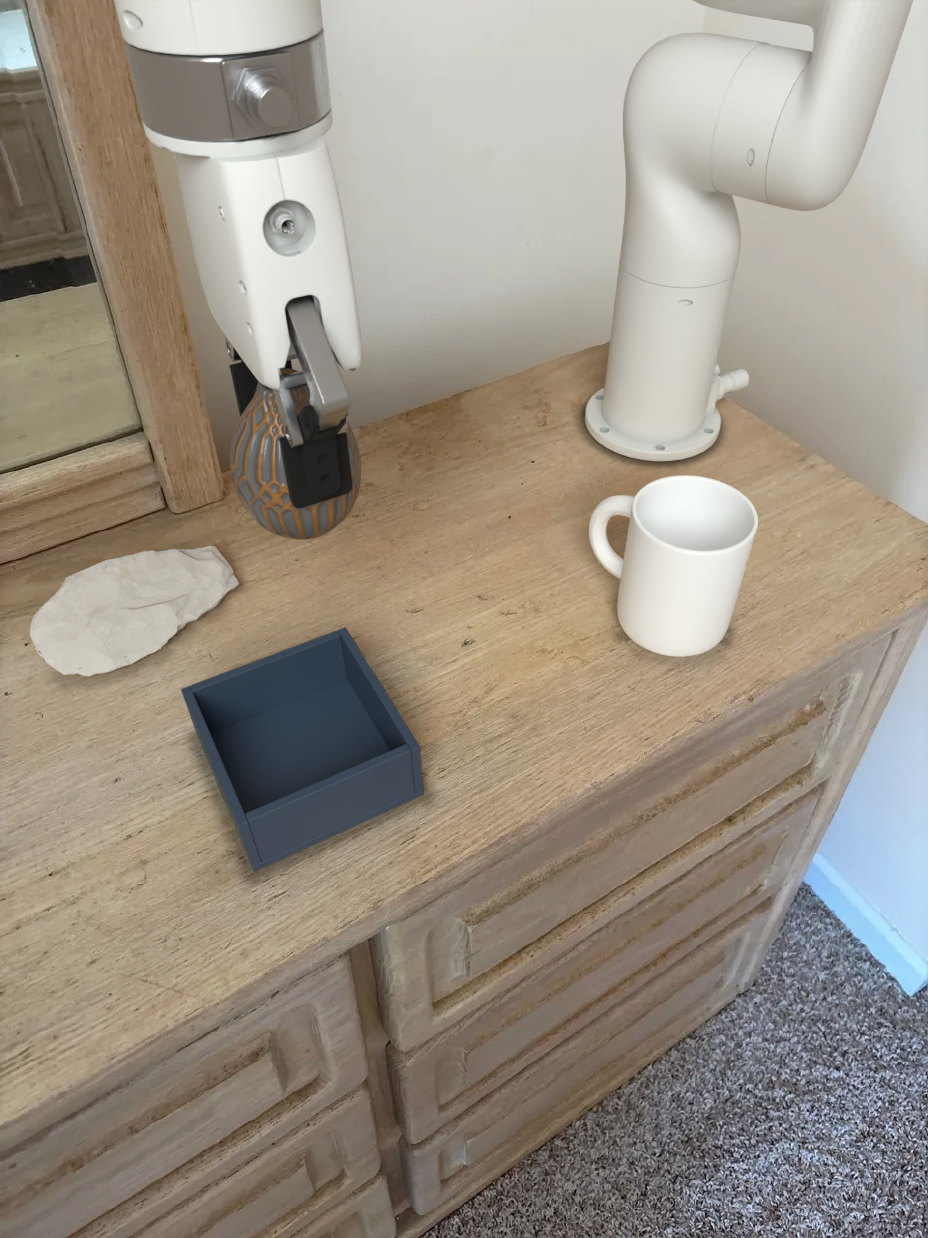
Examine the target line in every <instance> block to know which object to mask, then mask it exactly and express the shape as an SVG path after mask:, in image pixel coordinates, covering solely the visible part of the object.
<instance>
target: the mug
mask: <svg viewBox="0 0 928 1238" xmlns="http://www.w3.org/2000/svg"><path fill="white" fill-rule="evenodd" d="M614 516H622V517H626V518H628V519H629V523H628V529H627V535H626V536H627V537H626V541H625V547H624V555H623V558H622V557H621V556H619V555H618V554H617V553H616V552H615V551H614V549H613V548H612V546H611V545H610V543H609V540H608V535H607V527H608V523H609V521H610V519H611V518H612V517H614ZM758 527H759V517H758V513H757V510H756V508H755V506H754V504H753V503H752V501H751V499H749V498H748V497H747V496H746V495H745V494H744V493H742V492H741V491H740V490H738V489H737V488H735V487H733V486H731V485H729V484H727V483H725V482H722V481H720V480H717V479H713V478H710V477H706V476H700V475H690V474H683V475H682V474H681V475H669V476H666V477H665V476H664V477H662V478H657V479H656V480H653V481H651V482H648V483H647V484H646V485H645V486H643V487H642V488H641V489H640V490H638V492H637V493H636V495H635V496H634V495H628V494H616V495H611V496H608V497H606V498H605V499H603V500H601V501H600V502H599V503H598V504H597V505H596V506H595V508H594V510H593V511H592V512H591V515H590V518H589V522H588V538H589V544H590V547H591V549H592V552H593V554H594V556H595V558H596V559H597V561H598V562H599V563H600V565H601V566H602V567H603V568H604V569H605V570H606V571H607V572H609V573H610V574H611V575H612V576H613V577H615V578H617V579H618V580H619V586H618V592H617V599H616V613H617V614H616V615H617V620H618V622H619V625H620V627H621V628H622V630H623V632H624V633H625V635H626V636H627V637H628V638H629V639H630V640H631V641H633V642H634V643H635V644H636V645H638V646H640V647H641V648H643V649H645V650H647V651H649V652H652V653H654V654H657V655H660V656H666V657H671V658H672V657H673V658H685V657H686V658H687V657H693V656H698V655H700V654H704V653H706V652H708V651H710V650H711V649H713V648H715V647H716V646H717V645H718V644H719V643H720V642H721V641H722V640H723V638H724V637H725V635H726V633H727V632H728V630H729V626H730V624H731V621H732V617H733V614H734V610H735V607H736V604H737V601H738V597H739V593H740V590H741V586H742V582H743V579H744V576H745V572H746V570H747V569H746V568H747V565H748V562H749V558H750V554H751V551H752V549H753V545H754V541H755V537H756V534H757V531H758Z"/></svg>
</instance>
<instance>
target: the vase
mask: <svg viewBox="0 0 928 1238" xmlns="http://www.w3.org/2000/svg"><path fill="white" fill-rule="evenodd" d="M298 371H299V370H298V369H294V368H292V369H281V372H282V376H283V375H287V374H291V373H294V372H298ZM290 392H291V396H292V399H293V403H294V406H295V410H296V413H297V416H298V414H299V413H300V411H301V409H302V408H303V407H304V406H308V405H310V401H309V400H310V390H309V386H308V385H305V386H301V387H297V388H294V389H290ZM346 421H347V426H348V431H347V432H346V434H347V442H348V451H349V460H350V468H351V477H352V490H351V491H350V492H349V493H348V494H345V495H342V496H339V497H336V498H332V499H329V500H326V501H323V502H320V503H317V504H313V505H310V506H307V507H304V508H300V509H299V508H296V507H294V505H293V504H292V502H291V501H290V497H289V492H288V486H287V480H286V475H285V469H284V464H283V458H282V452H281V447H280V441H279V438H281V437H284V436H286V434H285V431H284V428H283V424H282V421H281V417H280V414H279V410H278V407H277V403H276V400H275V397H274V393H273V390H272V389H270V388H268V387H266V386H265V385H263V384H261V383H260V382H259V381H258V384H257V388H256V392H255V394H254V397H253V398H252V400H251V401H250V403H249V404H248V406H247V407H246V409H245V410H244V412H243V413H242V415H241V417H240V416H239V418H238V420H237V422H236V424H235V426H234V429H233V432H232V436H231V441H230V446H229V447H230V449H229V450H230V451H229V469H230V474H231V477H232V478H231V479H232V483H233V486H234V489H235V491H236V492H235V493H236V494H237V497H238V499H239V502H240V503H241V504H242V507H243V508H244V510H245V511H246V512H247V514H248V515H249V516H250V518H252V519H253V521H254V522H255V523H256V524H258V525H259V526H260V527H262V528H263V529H265V530H266V531H268V532H269V533H272V534H273V535H276V536H279V537H281V538H285V539H290V540H296V541H302V540H303V541H306V540H311V539H312V540H313V539H316V538H319V537H323V536H325V535H326V534H329V532H331V531H333V530H335V529H336V528H337V527H338V526H339V525H340V524H342V523H343V522H344V521H345V519H346V518H347V517H348V516H349V514H350V513H351V512H352V510H353V508H354V506H355V504H356V501H357V499H358V495H359V494H360V493H359V492H360V489H361V488H360V487H361V481H362V462H361V454H360V448H359V444H358V441H357V439H356V436H355V434H354V431H353V429H352V427H351V426H350V424H349V422H348V420H347V419H346Z"/></svg>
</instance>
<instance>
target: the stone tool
mask: <svg viewBox="0 0 928 1238" xmlns="http://www.w3.org/2000/svg"><path fill="white" fill-rule="evenodd" d="M238 586H240V582H239V580H238V578H237V577H236V576H235V572H234V570H233V568H232V566H231V565H230V563H229V562H228V561H227V559H226V558H225V557H224V556H223V555H222V553H221V552H220V551H219V549H217V547H216V546H215V545H207V546H204V547H197V548H193V549H187V548H186V549H184V548H170V549H167V550H162V551H156V550H142V551H139V552H136V553H133V554H126V555H123V556H120V557H115V558H111V559H105V560H103V561H101V562H99V563H96V564H94V565H92V566H89V567H86V568H84V569H82V570H79V571H78V572H76V573H73V574H71V575H69V576H67V577H65V579H64V581H63V582H62V584H61V586H59V588H58V589H57V590H56V592H55V593H53V595H52V596H51V597H50V598H49V599H48V600H46V601H45V602H44V603H43V604H42V605H41V606H40V607H39V609H37V611H36V612H35V614H34V615H33V617H32V619H31V623H30V628H29V637H30V639H31V641H32V643H33V645H34V650H35V651H36V653H37V654H38V655H39V656H40V657H41V658H42V659H43V661H44V663H45V664H46V665H48V666H50V667H51V668H53V669H55V671H57V672H59V673H60V674H61V675H63V676H67V675H68V676H71V675H73V676H74V675H80V676H84V677H91V676H94V675H101V674H107V673H110V672H113V671H116V670H117V669H120V668H124V667H126V666H129V665H133V664H135V663H136V662H137V661H139V660H141V659H143V658H145V657H147V656H148V655H149V656H150V655H152V654H155V653H156V652H158V651H159V650H161V649H162V648H163V646H165V645H166V644H167V643H168V641H169V640H170V639H172V638H173V637H174V636H175V635H176V633H178V632H179V631H180V630H182V629H183V628H185V627H186V626H187V624H189V623H191V622H193V621H196V620H198V619H199V618H200V617H201V616H202V615H204V614H205V613H207V612H209V611H212V610H215V609H216V608H217V607H218V606H219V605H220V604H221V602H222V600H223V598H224V597H225V596H226V595H227V593H228V592H229V591H232V590H235V588H237V587H238Z"/></svg>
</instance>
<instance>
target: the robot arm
mask: <svg viewBox="0 0 928 1238" xmlns="http://www.w3.org/2000/svg"><path fill="white" fill-rule="evenodd" d="M692 1H693V2H695V3H697V4H698V5H700V6H704V7H707V8H709V9H710V8H711V9H715V10H718V11H723V12H726V13H731V14H737V15H742V16H749V17H755V18H761V19H767V20H773V21H778V22H786V23H791V24H792V23H793V24H797V25H802V26H803V25H804V26H808V27H811V29H812V32H813V42H812V43H813V45H812V51H810V50H805V49H799V48H794V47H787V46H782V45H776V44H771V43H769V42H765V41H759V40H753V39H747V38H742V37H735V36H730V35H723V34H718V33H713V32H712V33H709V32H682V33H677V34H674V35H673V34H672V35H670V36H667V37H665V38H663V39H661V40H659V41H657V42H656V43H654V44H652V46H650V47H649V48H648V49H647V50H646V51H645V52H644V53H643V54H642V55H641V57H640V58H639V59H638V61H637V63H636V64H635V66H634V68H633V69H632V72H631V74H630V76H629V79H628V82H627V86H626V89H625V94H624V100H623V108H622V109H623V110H622V138H623V139H622V140H623V155H624V166H625V167H624V168H625V170H624V171H625V200H624V214H623V227H622V236H621V245H620V246H621V247H620V255H619V256H620V257H619V260H618V270H617V278H616V286H615V295H614V296H615V297H614V305H613V312H612V321H611V329H610V338H609V345H608V353H607V355H608V356H607V365H606V372H605V382H604V387H602V388H601V389H599V390H597V391H596V392H595V393H594V394H592V396H591V397H590V398H589V399H588V401H587V403H586V406H585V410H584V411H585V412H584V423H585V427H586V429H587V431H588V433H589V435H590V436H591V437H592V438H593V439H594V440H595V441H596V442H597V443H598V444H600V445H602V446H603V447H604V448H606V449H607V450H610V451H612V452H614V453H615V454H619V455H621V456H625V457H627V458H630V459H631V458H632V459H635V460H640V461H647V462H648V461H649V462H674V461H681V460H685V459H688V458H692V457H695V456H697V455H699V454H702V453H703V452H705V451H707V450H709V448H711V447H712V446H713V445H714V443H715V442H716V441H717V439H718V437H719V435H720V430H721V426H722V418H721V413H720V411H719V409H718V407H717V406H716V403H717V402H718V401H720V400H722V399H723V398H724V396H725V394H731V393H735V392H737V391H740V390H743V389H746V388H747V387H748V386H749V384H750V375H749V373H748V371H747V370H746V369H744V368H736V369H733V370H730V371H727V372H725V373H723V374H721V368H720V365H719V364H718V357H719V352H720V347H721V343H722V338H723V333H724V329H725V324H726V320H727V315H728V309H729V304H730V300H731V295H732V292H733V287H734V281H735V276H736V272H737V270H738V266H739V260H740V254H741V249H742V248H741V246H742V234H741V233H742V232H741V223H740V219H739V214H738V210H737V207H736V204H735V200H734V197H733V196H735V197H738V198H742V199H746V200H751V201H753V202H758V203H762V204H765V205H770V206H774V207H778V208H782V209H786V210H790V211H791V210H792V211H799V212H813V211H818V210H821V209H823V208H825V207H827V206H829V205H830V204H831V203H833V202H834V201H836V199H838V198H839V196H840V195H842V193H843V192H844V190H845V189H846V188H847V186H848V185H849V183H850V182H851V180H852V178H853V176H854V174H855V171H856V170H857V167H858V165H859V163H860V161H861V158H862V156H863V153H864V151H865V149H866V144H867V142H868V139H869V137H870V133H871V130H872V128H873V125H874V123H875V120H876V116H877V113H878V110H879V107H880V103H881V101H882V98H883V95H884V91H885V88H886V85H887V82H888V80H889V76H890V73H891V71H892V70H891V69H892V68H893V64H894V61H895V58H896V55H897V52H898V49H899V46H900V43H901V39H902V36H903V34H904V30H905V27H906V25H907V21H908V18H909V15H910V12H911V9H912V7H913V3H914V0H692ZM113 2H114V7H115V12H116V15H117V19H118V24H119V28H120V33H121V37H122V39H123V46H124V49H125V53H126V58H127V61H128V66H129V70H130V71H129V72H130V75H131V79H132V83H133V86H134V91H135V96H136V99H137V104H138V105H137V106H138V108H139V113H140V117H141V122H142V126H143V130H144V134H145V137H146V139H147V140H148V141H149V142H150V143H151V144H152V145H154V146H156V147H158V148H159V149H164V150H166V151H168V152H171V153H174V155H173V161H174V164H175V165H176V171H177V177H178V181H179V182H178V183H179V188H180V192H181V198H182V202H183V208H184V214H185V218H186V224H187V227H188V232H189V233H188V234H189V237H190V243H191V246H192V251H193V256H194V260H195V264H196V268H197V272H198V276H199V281H200V284H201V287H202V290H203V291H202V292H203V294H204V296H205V300H206V303H207V306H208V308H209V310H210V313H211V315H212V317H213V318H214V321H215V322H216V323H217V325H218V327H219V328H220V329H221V331H222V333H223V334H224V338H225V339H224V341H225V347H226V349H227V350H226V351H227V354H228V356H229V359H230V360H231V362H232V363H231V364H229V365H228V366H229V370H230V375H231V379H232V384H233V389H234V394H235V399H236V403H237V408H238V413H239V418H240V417H241V415H242V413H243V412H244V410H245V409H246V407H247V406H248V404H249V403H250V401H251V400H252V398H253V397H254V394H255V392H256V388H257V384H258V381H259V382H260V383H261V384H263V385H265V386H266V387H268V388H270V389H272V390H273V393H274V397H275V400H276V403H277V407H278V410H279V414H280V417H281V421H282V424H283V428H284V431H285V434H286V436H284V437H281V438H279V441H280V447H281V452H282V458H283V464H284V469H285V475H286V480H287V486H288V492H289V497H290V501H291V502H292V504H293V505H294V507H296V508H299V509H300V508H304V507H307V506H310V505H313V504H317V503H320V502H323V501H326V500H329V499H332V498H336V497H339V496H342V495H345V494H348V493H349V492H350V491H351V490H352V477H351V468H350V460H349V451H348V442H347V434H346V432H347V431H348V426H347V422H348V420H347V417H348V415H349V410H350V408H351V405H352V404H351V397H350V394H349V391H348V389H347V386H346V383H345V380H344V377H343V375H342V372H341V370H340V368H341V369H342V370H343V371H344V372H346V371H351V372H353V371H356V370H359V369H360V367H361V366H362V364H363V360H364V349H363V339H362V332H361V325H360V317H359V309H358V303H357V296H356V288H355V281H354V275H353V269H352V262H351V255H350V248H349V241H348V236H347V231H346V224H345V220H344V214H343V208H342V203H341V197H340V193H339V188H338V185H337V179H336V176H335V171H334V168H333V162H332V160H331V159H332V158H331V156H330V151H329V148H328V144H327V141H326V139H325V138H324V135H325V134H327V133H328V131H329V130H330V129H331V128H332V126H333V124H334V123H333V122H334V121H333V120H334V119H333V110H332V101H331V100H332V99H331V90H330V81H329V70H328V68H329V67H328V59H327V51H326V50H327V49H326V40H325V29H324V25H323V24H324V23H323V15H322V14H323V13H322V3H321V0H113ZM296 359H297V361H298V362H299V366H300V367H301V369H302V370H297V371H298V372H294V373H291V374H287V375H283V376H282V372H281V369H293V363H292V361H293V360H296ZM237 361H240V362H237ZM235 362H236V363H235ZM720 374H721V375H720ZM305 385H308V386H309V390H310V400H309V401H310V405H308V406H304V407H303V408H302V409H301V411H300V413H299V414H298V416H297V413H296V410H295V406H294V403H293V399H292V396H291V392H290V389H294V388H297V387H301V386H305ZM346 420H347V421H346Z"/></svg>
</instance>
